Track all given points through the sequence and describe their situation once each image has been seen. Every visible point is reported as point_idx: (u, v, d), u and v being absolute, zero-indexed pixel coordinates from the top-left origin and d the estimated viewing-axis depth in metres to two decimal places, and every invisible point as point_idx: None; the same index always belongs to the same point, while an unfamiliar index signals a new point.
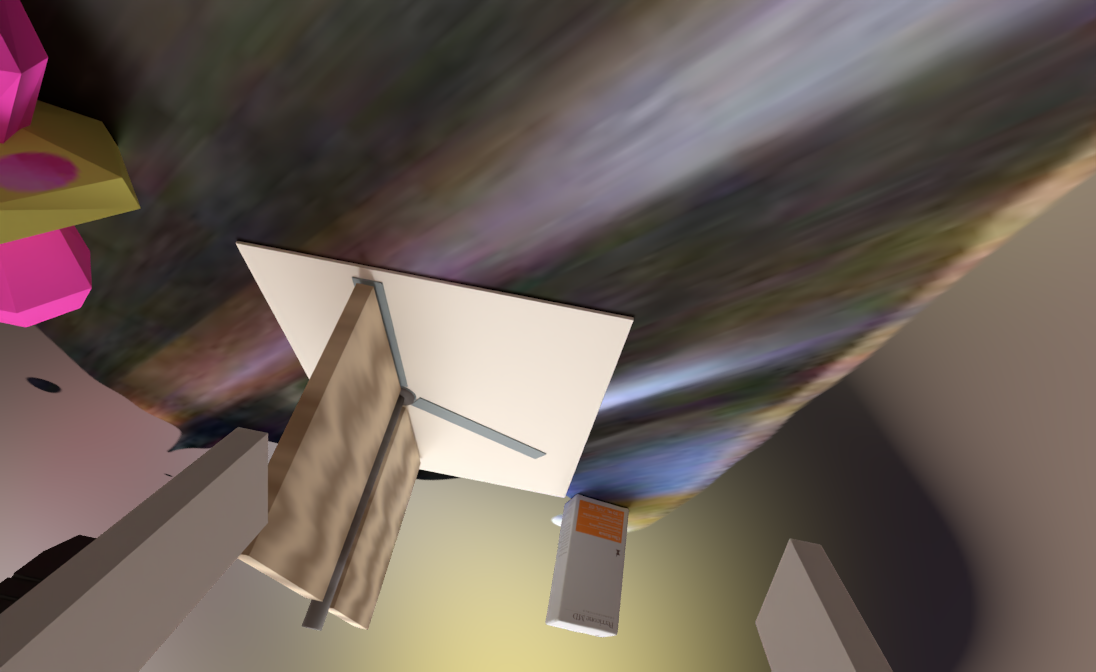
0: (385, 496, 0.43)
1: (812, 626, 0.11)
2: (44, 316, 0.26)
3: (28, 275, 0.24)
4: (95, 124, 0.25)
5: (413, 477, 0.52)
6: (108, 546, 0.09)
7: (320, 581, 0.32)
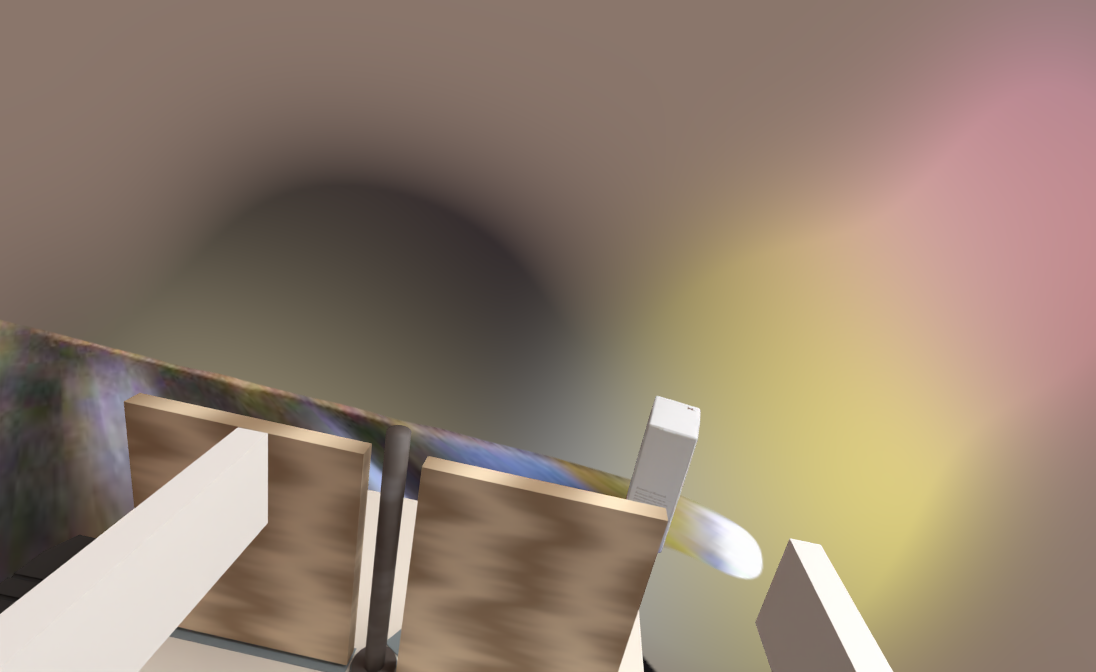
0: None
1: (811, 627, 0.11)
2: None
3: None
4: None
5: None
6: (108, 546, 0.09)
7: None
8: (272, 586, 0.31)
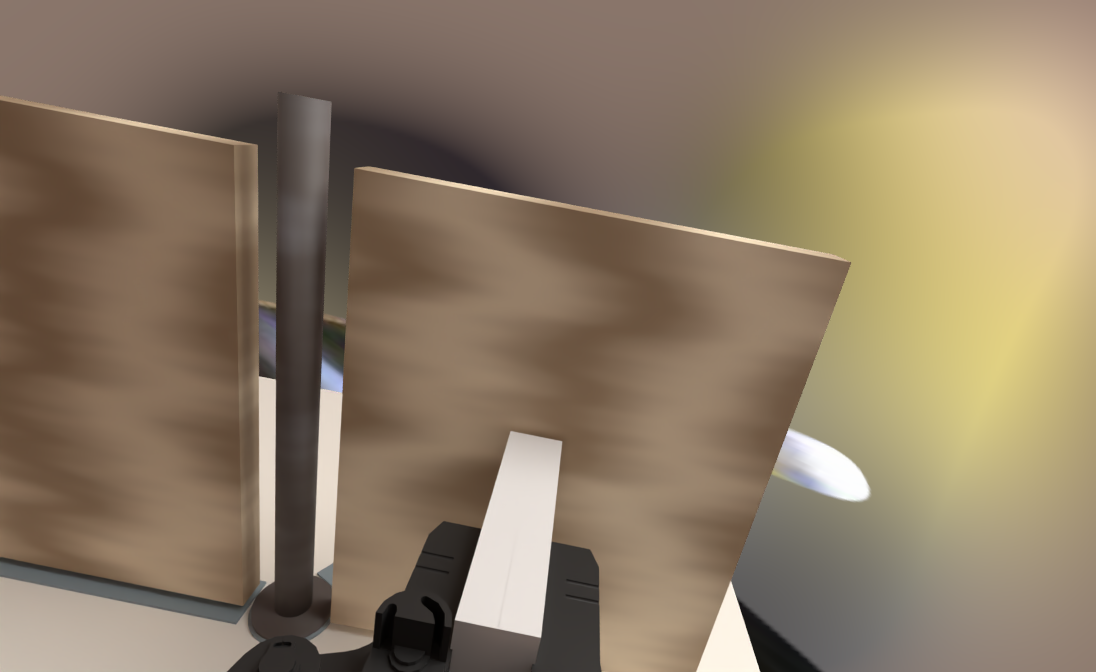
0: None
1: None
2: None
3: None
4: None
5: None
6: (497, 529, 0.11)
7: None
8: (95, 456, 0.17)
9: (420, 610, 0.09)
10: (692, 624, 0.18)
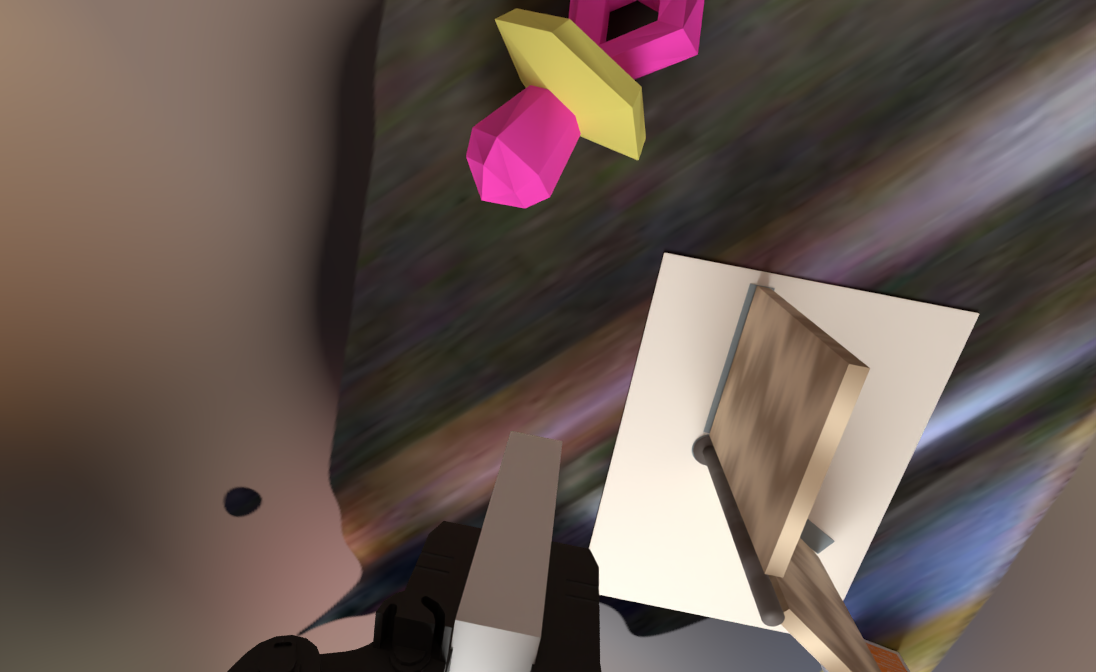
0: None
1: None
2: (524, 194, 0.31)
3: (554, 159, 0.31)
4: None
5: (818, 564, 0.44)
6: (497, 529, 0.11)
7: None
8: (742, 412, 0.37)
9: (420, 610, 0.09)
10: None
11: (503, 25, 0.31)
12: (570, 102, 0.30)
